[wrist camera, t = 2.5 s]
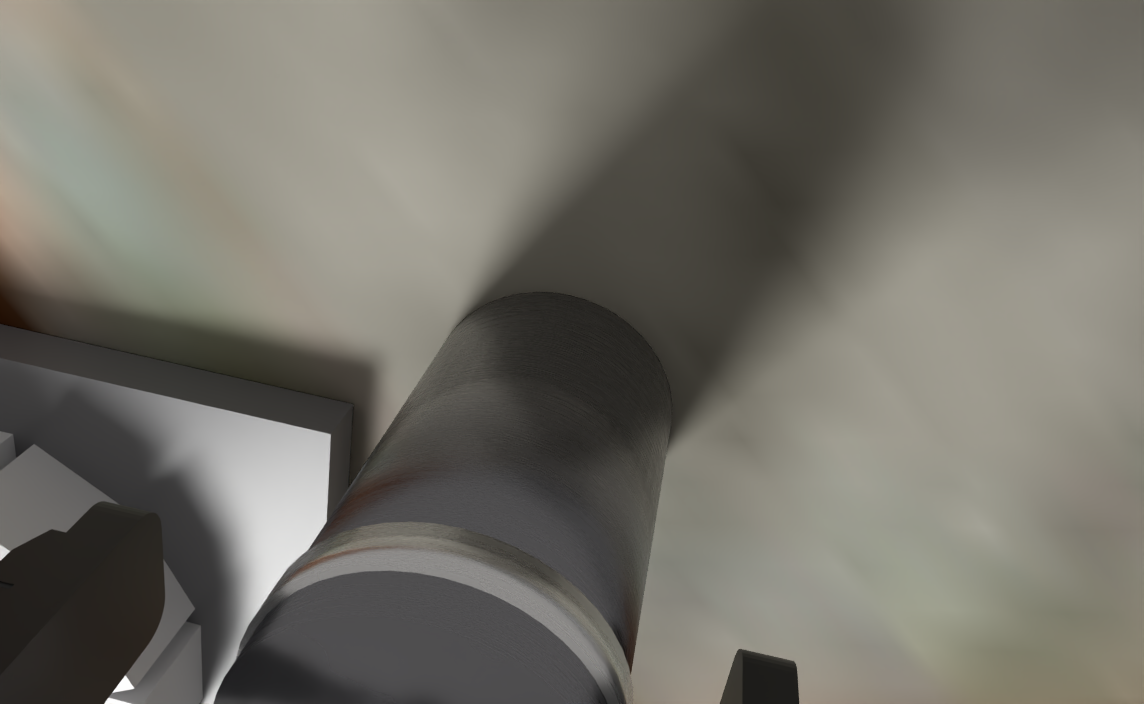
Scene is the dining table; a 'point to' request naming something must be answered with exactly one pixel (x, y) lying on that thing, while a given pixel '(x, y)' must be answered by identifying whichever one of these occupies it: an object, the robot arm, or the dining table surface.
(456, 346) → the lens
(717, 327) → the dining table surface
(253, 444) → the mount
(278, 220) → the dining table surface
